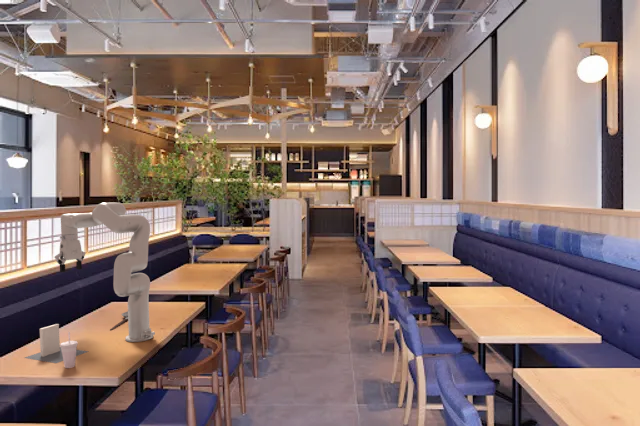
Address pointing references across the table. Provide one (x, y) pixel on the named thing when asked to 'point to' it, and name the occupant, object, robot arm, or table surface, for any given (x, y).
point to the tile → (49, 340)
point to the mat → (52, 356)
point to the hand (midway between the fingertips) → (71, 270)
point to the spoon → (121, 321)
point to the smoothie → (69, 352)
